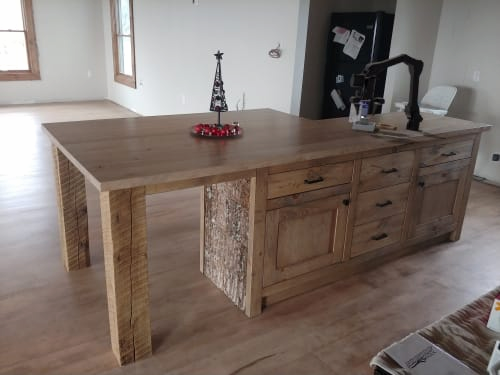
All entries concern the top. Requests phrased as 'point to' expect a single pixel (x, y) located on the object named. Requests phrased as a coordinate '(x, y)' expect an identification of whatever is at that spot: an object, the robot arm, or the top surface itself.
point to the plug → (364, 120)
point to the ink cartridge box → (362, 112)
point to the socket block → (385, 126)
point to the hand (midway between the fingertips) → (365, 115)
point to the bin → (363, 126)
